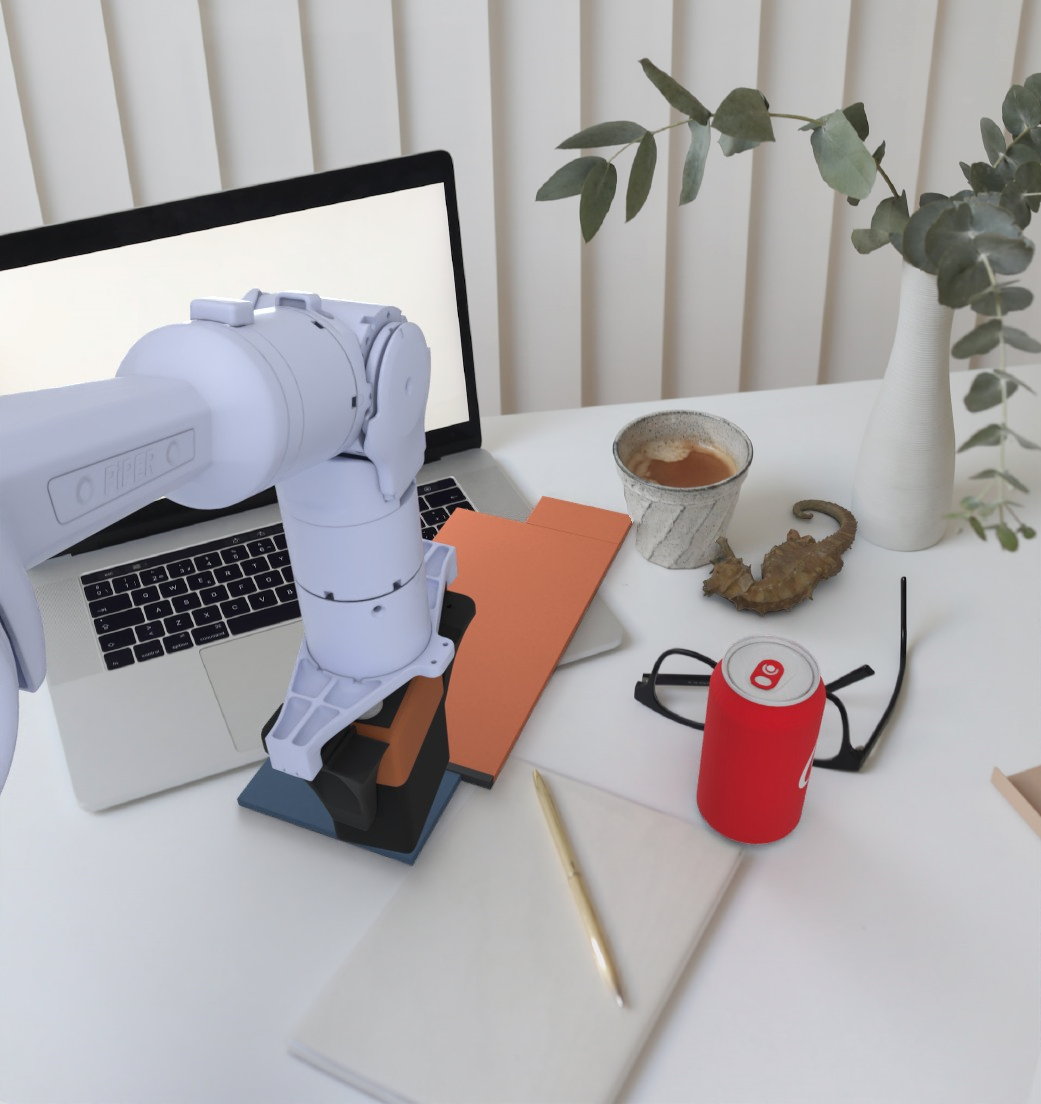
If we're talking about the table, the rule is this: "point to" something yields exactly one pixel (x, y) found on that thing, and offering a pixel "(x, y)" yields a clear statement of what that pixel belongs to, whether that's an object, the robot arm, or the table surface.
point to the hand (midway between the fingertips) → (389, 763)
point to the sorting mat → (490, 645)
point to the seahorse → (784, 565)
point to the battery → (404, 764)
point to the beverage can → (760, 738)
